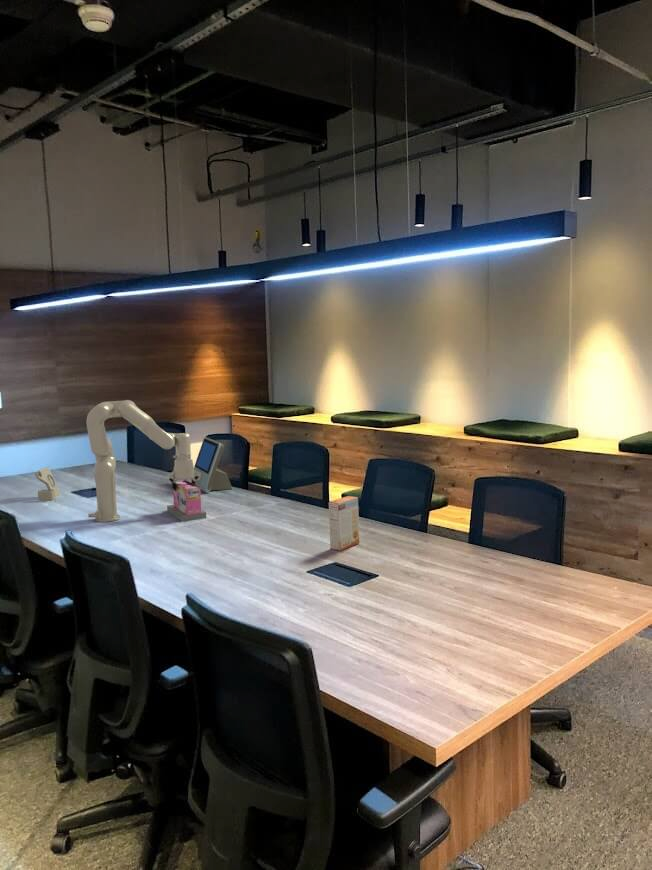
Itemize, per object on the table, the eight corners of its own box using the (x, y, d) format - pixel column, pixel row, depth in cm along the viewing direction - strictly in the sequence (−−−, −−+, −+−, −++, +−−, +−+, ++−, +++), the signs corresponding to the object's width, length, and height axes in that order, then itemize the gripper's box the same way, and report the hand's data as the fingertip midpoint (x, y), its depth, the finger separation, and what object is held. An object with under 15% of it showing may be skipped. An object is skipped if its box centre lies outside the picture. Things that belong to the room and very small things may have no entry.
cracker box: (349, 541, 317) (348, 495, 315) (359, 543, 314) (359, 496, 311) (329, 549, 307) (327, 501, 304) (340, 551, 303) (339, 503, 300)
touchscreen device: (188, 484, 456) (188, 437, 453) (218, 482, 464) (218, 436, 461) (203, 494, 425) (202, 444, 421) (235, 491, 433) (234, 442, 429)
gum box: (172, 506, 382) (171, 481, 380) (186, 504, 386) (185, 479, 384) (187, 515, 361) (185, 488, 359) (202, 512, 365) (200, 486, 363)
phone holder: (53, 501, 414) (51, 471, 412) (36, 502, 414) (34, 471, 412) (65, 495, 431) (63, 466, 429) (49, 495, 432) (46, 466, 429)
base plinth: (181, 521, 361) (181, 515, 360) (167, 510, 385) (167, 505, 384) (206, 517, 367) (206, 512, 366) (190, 507, 390) (190, 502, 390)
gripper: (168, 459, 364) (169, 492, 367) (201, 456, 372) (202, 489, 374) (164, 457, 371) (165, 489, 373) (197, 454, 379) (197, 486, 381)
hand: (184, 489), depth 374 cm, fingers open, 9 cm apart
